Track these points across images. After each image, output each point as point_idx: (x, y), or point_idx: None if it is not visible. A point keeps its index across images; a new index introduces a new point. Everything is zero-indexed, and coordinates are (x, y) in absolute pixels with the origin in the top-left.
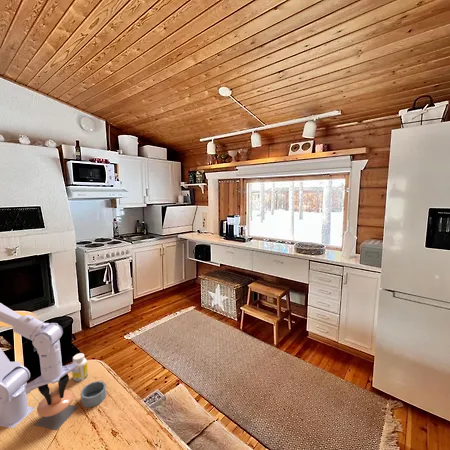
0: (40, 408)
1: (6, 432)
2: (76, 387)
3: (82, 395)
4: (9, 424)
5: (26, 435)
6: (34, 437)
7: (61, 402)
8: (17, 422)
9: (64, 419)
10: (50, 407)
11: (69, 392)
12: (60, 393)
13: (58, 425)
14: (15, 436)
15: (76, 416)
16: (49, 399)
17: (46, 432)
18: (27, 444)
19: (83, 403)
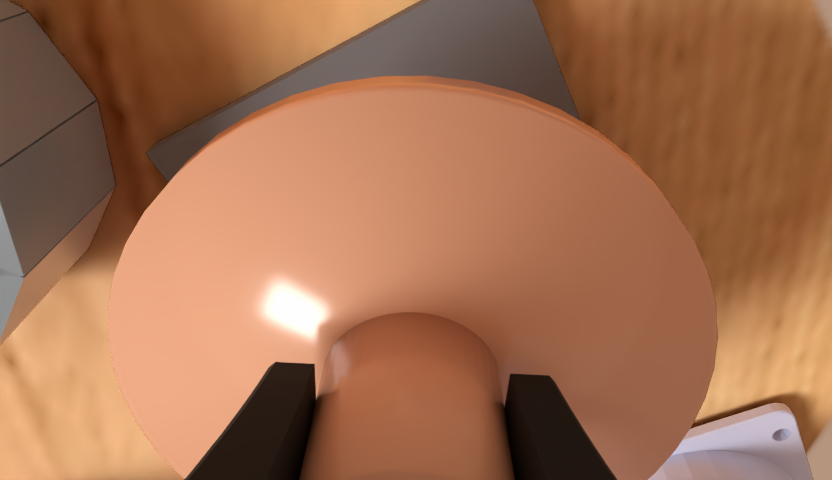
0: (645, 414)
1: (824, 405)
2: (128, 463)
3: None
4: (781, 467)
5: (754, 222)
6: (725, 115)
7: (335, 285)
8: (726, 441)
9: (366, 77)
10: (527, 317)
11: (155, 408)
12: (293, 472)
13: (464, 34)
14: (817, 297)
15: (215, 16)
16: (563, 470)
17: (603, 72)
18: (829, 70)
19: (55, 121)
